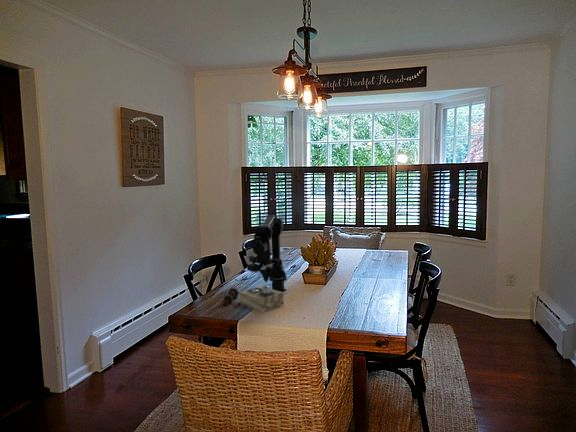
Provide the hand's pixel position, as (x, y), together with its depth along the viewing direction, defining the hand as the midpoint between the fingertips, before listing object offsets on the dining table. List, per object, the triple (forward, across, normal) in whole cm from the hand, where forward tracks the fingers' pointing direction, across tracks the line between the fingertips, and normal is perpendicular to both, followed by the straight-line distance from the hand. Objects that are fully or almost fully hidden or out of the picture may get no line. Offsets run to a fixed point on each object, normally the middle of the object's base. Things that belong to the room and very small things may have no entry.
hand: (265, 281), depth 209 cm
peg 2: (+8, 0, 0) cm, 8 cm away
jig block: (+12, 0, -4) cm, 13 cm away
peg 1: (+12, 0, -9) cm, 15 cm away
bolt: (+13, +8, -21) cm, 26 cm away
